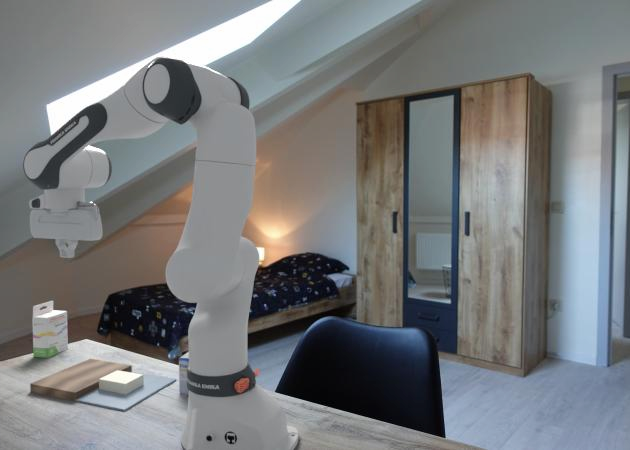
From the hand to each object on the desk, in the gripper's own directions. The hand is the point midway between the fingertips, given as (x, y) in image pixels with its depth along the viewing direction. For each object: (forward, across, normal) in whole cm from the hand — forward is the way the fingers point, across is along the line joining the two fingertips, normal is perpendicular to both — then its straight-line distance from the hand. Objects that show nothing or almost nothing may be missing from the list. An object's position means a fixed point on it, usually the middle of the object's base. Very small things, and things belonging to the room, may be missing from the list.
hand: (67, 257), depth 118 cm
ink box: (+31, +22, -13) cm, 40 cm away
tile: (+31, -16, 0) cm, 35 cm away
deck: (+31, -4, 0) cm, 31 cm away
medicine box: (+31, -32, -7) cm, 45 cm away
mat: (+31, -18, 0) cm, 36 cm away
